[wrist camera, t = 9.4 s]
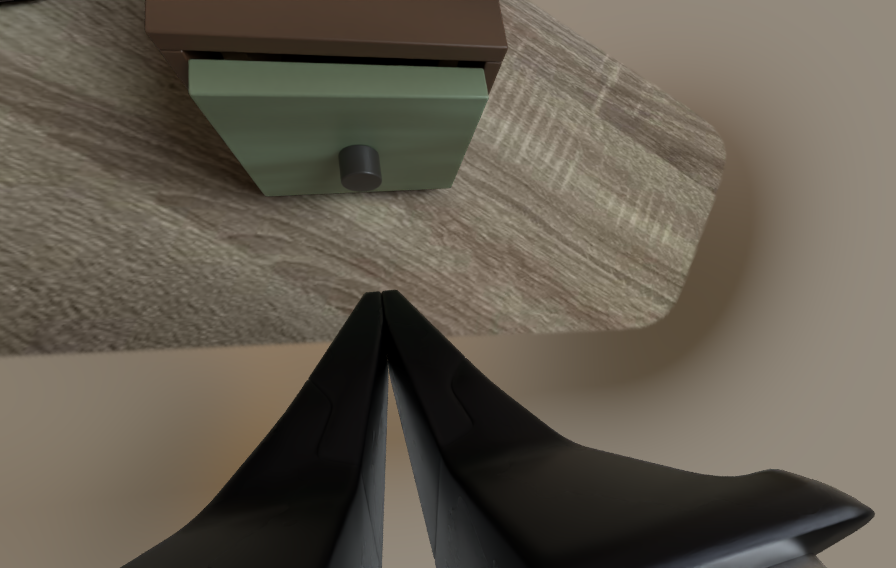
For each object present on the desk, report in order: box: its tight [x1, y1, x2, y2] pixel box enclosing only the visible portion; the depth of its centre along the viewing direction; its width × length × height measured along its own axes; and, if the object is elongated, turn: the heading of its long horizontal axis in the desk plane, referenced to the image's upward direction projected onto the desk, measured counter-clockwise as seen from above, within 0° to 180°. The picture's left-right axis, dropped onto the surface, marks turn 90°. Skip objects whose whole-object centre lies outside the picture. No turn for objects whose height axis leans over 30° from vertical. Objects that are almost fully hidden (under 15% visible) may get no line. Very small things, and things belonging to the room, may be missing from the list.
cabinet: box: [145, 0, 508, 95], centre depth 15 cm, size 10×10×8 cm
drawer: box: [188, 52, 489, 196], centre depth 14 cm, size 10×9×7 cm
